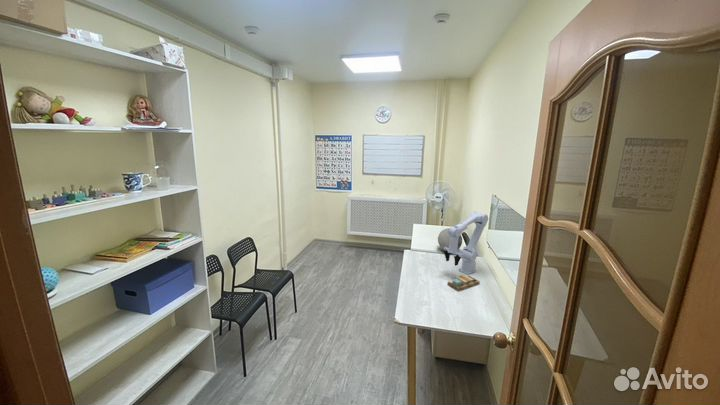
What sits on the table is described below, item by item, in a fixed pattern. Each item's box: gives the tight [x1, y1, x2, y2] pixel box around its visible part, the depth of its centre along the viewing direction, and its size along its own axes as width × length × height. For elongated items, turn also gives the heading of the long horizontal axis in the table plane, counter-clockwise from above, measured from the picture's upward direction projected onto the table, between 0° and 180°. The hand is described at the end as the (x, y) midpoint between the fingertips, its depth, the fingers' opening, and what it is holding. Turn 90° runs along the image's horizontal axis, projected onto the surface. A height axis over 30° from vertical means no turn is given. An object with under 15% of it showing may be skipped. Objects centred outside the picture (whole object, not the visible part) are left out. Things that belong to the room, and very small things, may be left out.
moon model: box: [437, 227, 463, 251], centre depth 234 cm, size 20×20×20 cm
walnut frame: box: [447, 275, 481, 292], centre depth 179 cm, size 20×9×2 cm, turn 119°
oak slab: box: [455, 274, 475, 284], centre depth 183 cm, size 8×8×3 cm
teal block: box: [451, 278, 462, 287], centre depth 177 cm, size 4×4×4 cm
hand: (451, 263), depth 189 cm, fingers open, 7 cm apart
